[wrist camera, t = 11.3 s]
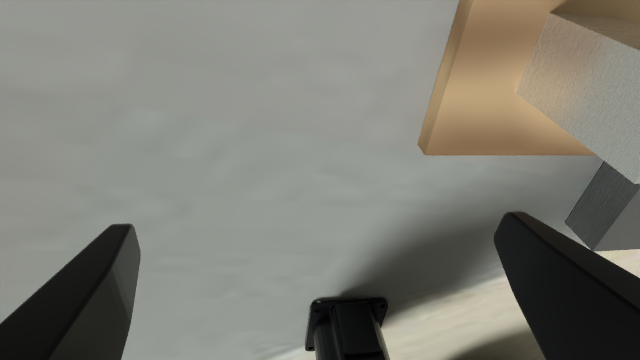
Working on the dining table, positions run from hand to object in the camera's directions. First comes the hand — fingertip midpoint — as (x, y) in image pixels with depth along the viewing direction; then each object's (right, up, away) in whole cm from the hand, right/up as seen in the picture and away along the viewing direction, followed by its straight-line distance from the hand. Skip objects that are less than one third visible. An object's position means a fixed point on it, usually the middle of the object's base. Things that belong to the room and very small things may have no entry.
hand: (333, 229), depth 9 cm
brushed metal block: (+12, +7, +10) cm, 18 cm away
